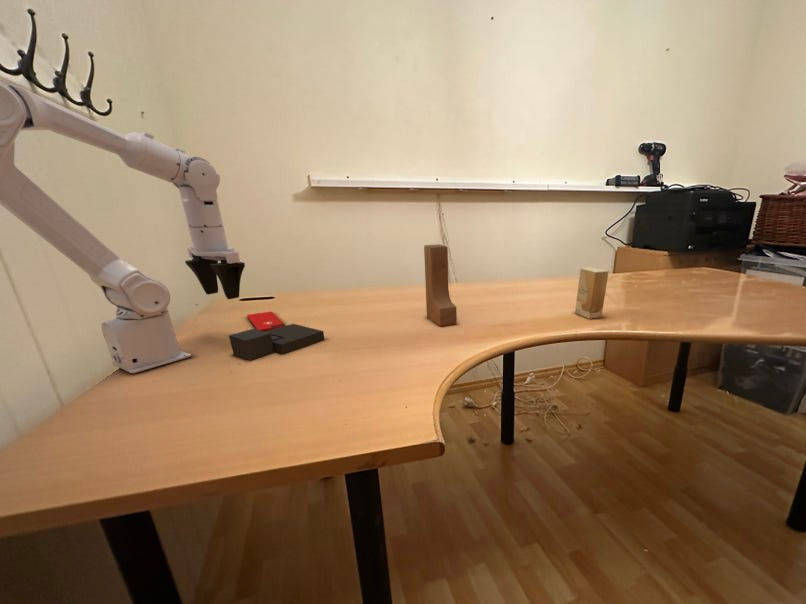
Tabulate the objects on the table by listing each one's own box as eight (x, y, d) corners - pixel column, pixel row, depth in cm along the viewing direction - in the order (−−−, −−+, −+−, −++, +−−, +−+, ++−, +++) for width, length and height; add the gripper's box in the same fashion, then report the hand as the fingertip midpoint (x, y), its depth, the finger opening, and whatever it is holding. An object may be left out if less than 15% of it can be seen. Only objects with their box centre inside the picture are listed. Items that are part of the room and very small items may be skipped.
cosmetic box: (574, 313, 108) (579, 267, 104) (587, 311, 110) (592, 266, 106) (589, 319, 103) (595, 271, 98) (602, 317, 105) (609, 270, 100)
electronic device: (247, 316, 101) (258, 332, 90) (246, 314, 101) (257, 329, 90) (272, 313, 104) (286, 327, 93) (271, 311, 104) (285, 325, 93)
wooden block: (457, 324, 98) (456, 248, 91) (440, 326, 96) (438, 249, 89) (442, 315, 105) (440, 244, 98) (426, 317, 103) (423, 245, 96)
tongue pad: (250, 360, 75) (245, 340, 74) (233, 354, 78) (228, 335, 76) (287, 348, 81) (283, 329, 80) (270, 343, 84) (266, 324, 82)
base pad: (283, 354, 78) (281, 344, 78) (252, 344, 83) (250, 335, 82) (324, 339, 86) (323, 330, 86) (294, 331, 91) (293, 323, 90)
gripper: (248, 227, 77) (262, 296, 82) (207, 223, 84) (222, 288, 89) (210, 229, 72) (227, 303, 77) (169, 225, 78) (187, 294, 83)
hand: (222, 295), depth 83 cm, fingers open, 7 cm apart
